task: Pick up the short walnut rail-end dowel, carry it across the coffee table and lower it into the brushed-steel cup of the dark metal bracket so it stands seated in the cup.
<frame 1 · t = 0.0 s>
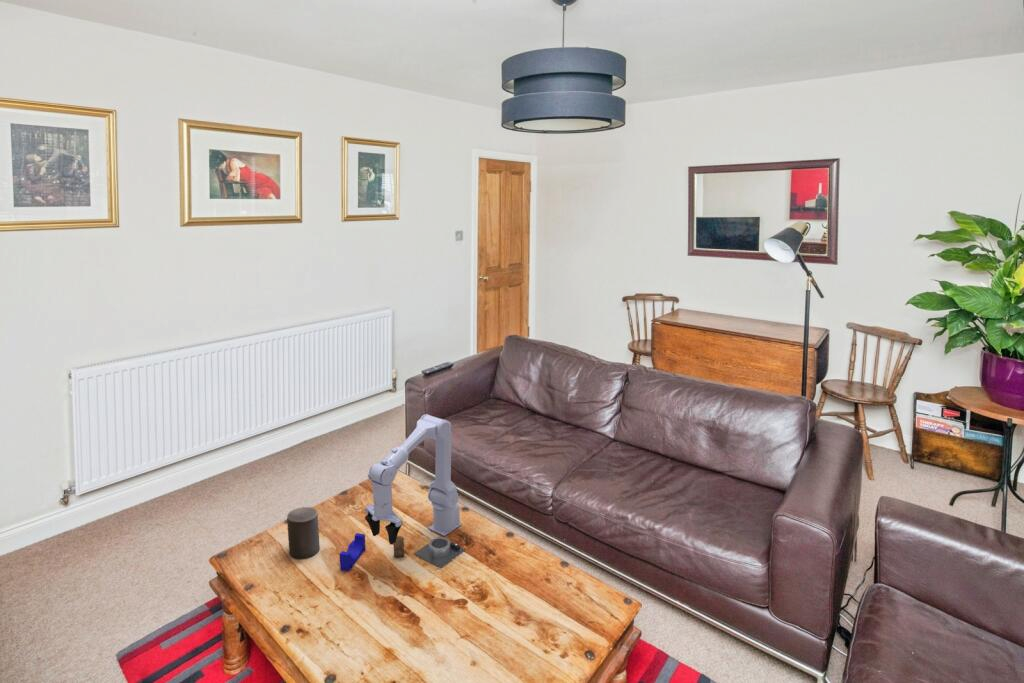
hand: (384, 538, 187), 10 cm above the table, tool pointing down, fingers open, 7 cm apart
pillar candle: (305, 551, 198), on the table
cable clip: (351, 560, 194), on the table
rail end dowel: (399, 555, 196), on the table
cup bracket: (439, 552, 198), on the table
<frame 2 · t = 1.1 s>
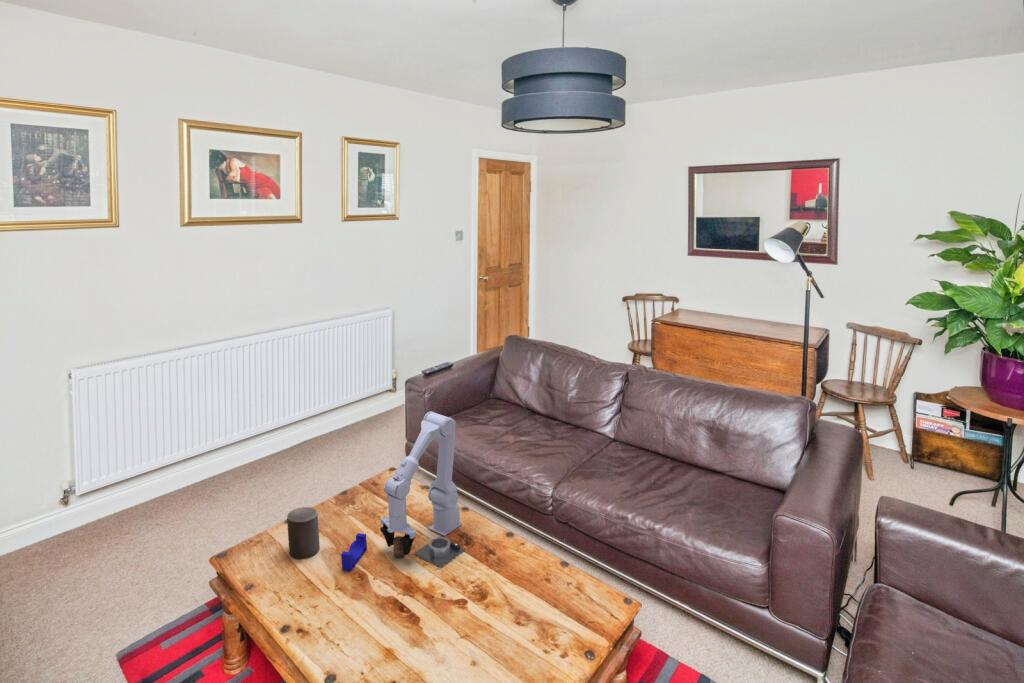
hand: (398, 549, 196), 2 cm above the table, tool pointing down, fingers open, 7 cm apart
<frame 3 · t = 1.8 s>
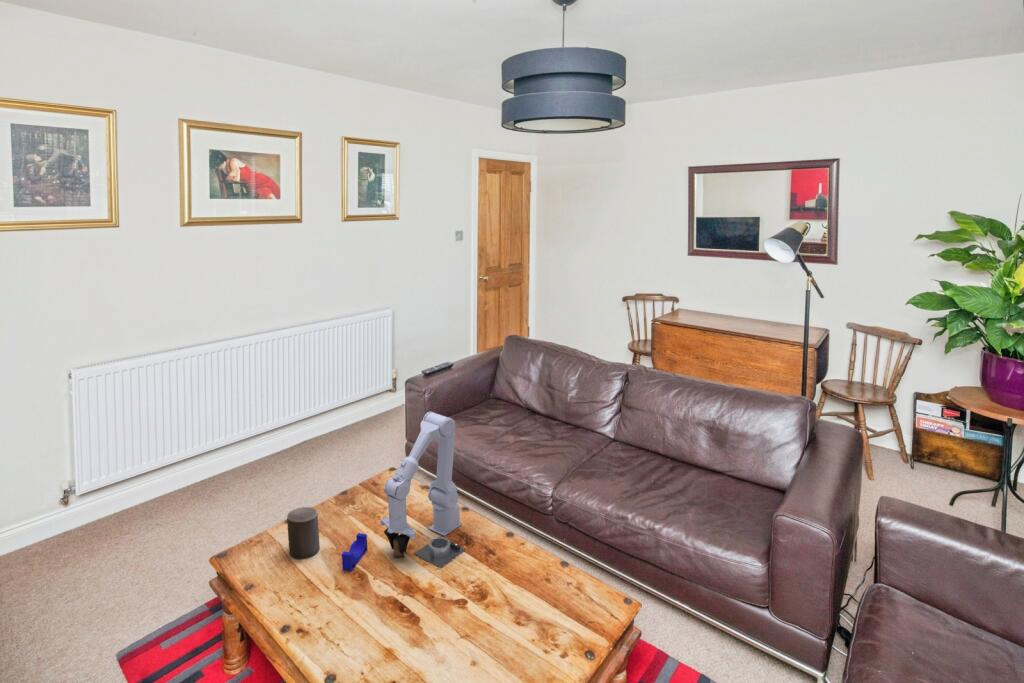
hand: (398, 550, 196), 2 cm above the table, tool pointing down, fingers closed on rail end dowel, 3 cm apart
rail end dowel: (399, 554, 196), on the table, touching gripper
everything else where it was.
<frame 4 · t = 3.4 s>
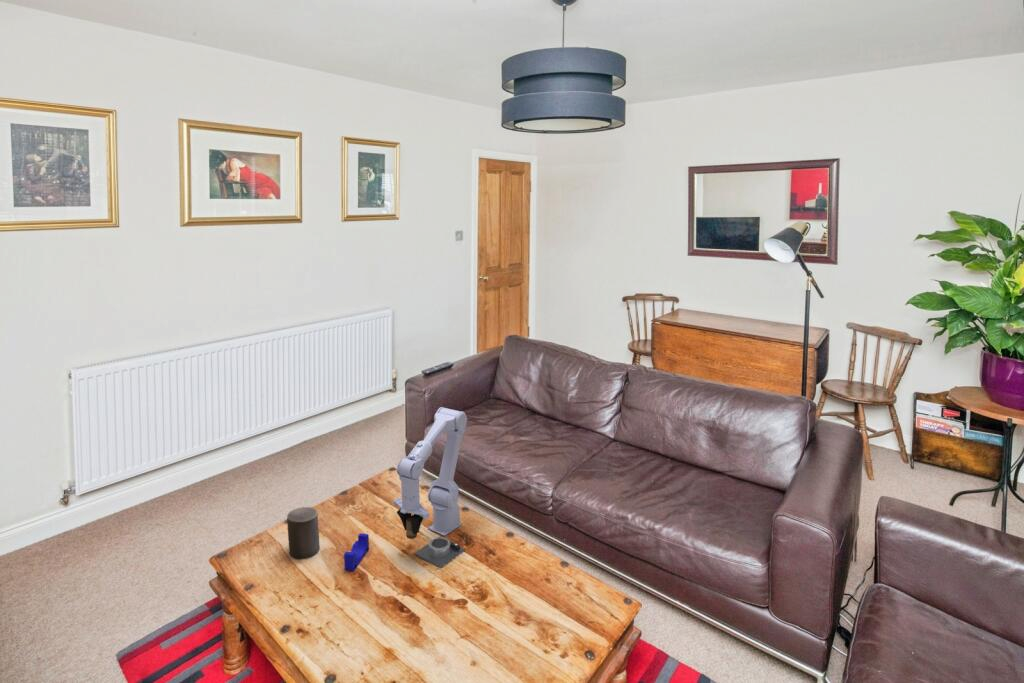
hand: (411, 530, 195), 9 cm above the table, tool pointing down, fingers closed on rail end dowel, 3 cm apart
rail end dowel: (411, 535, 195), point 7 cm above the table, touching gripper
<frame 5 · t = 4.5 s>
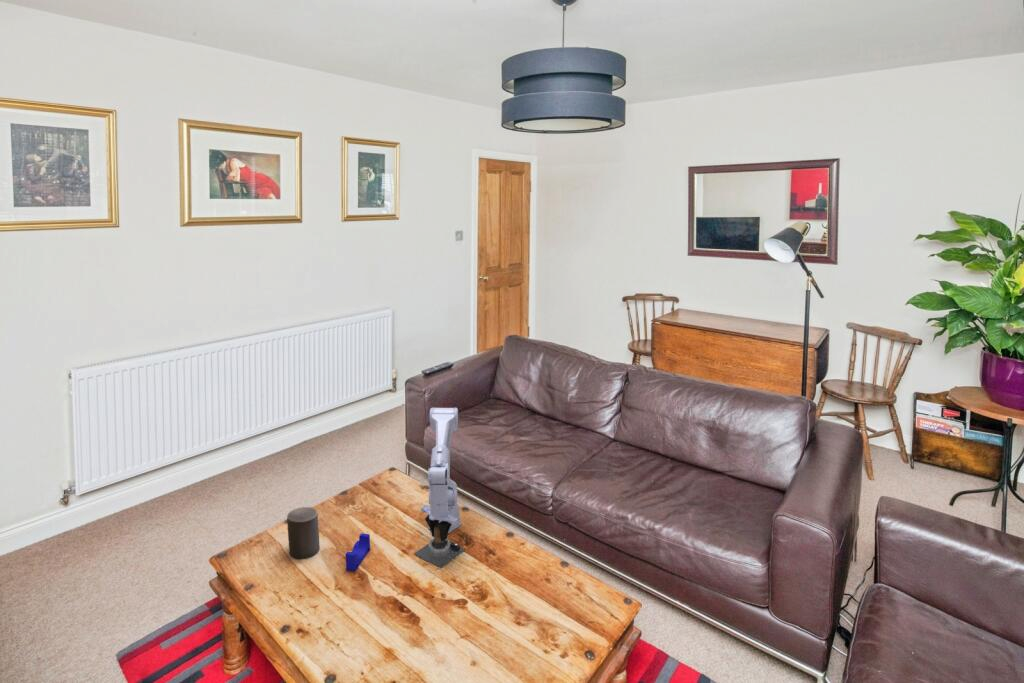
hand: (439, 537, 196), 6 cm above the table, tool pointing down, fingers closed on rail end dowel, 3 cm apart
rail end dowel: (439, 542, 196), point 4 cm above the table, touching gripper
when the fingers open (4 cm above the table, at t = 5.1 s): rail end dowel drops 2 cm, resting on cup bracket.
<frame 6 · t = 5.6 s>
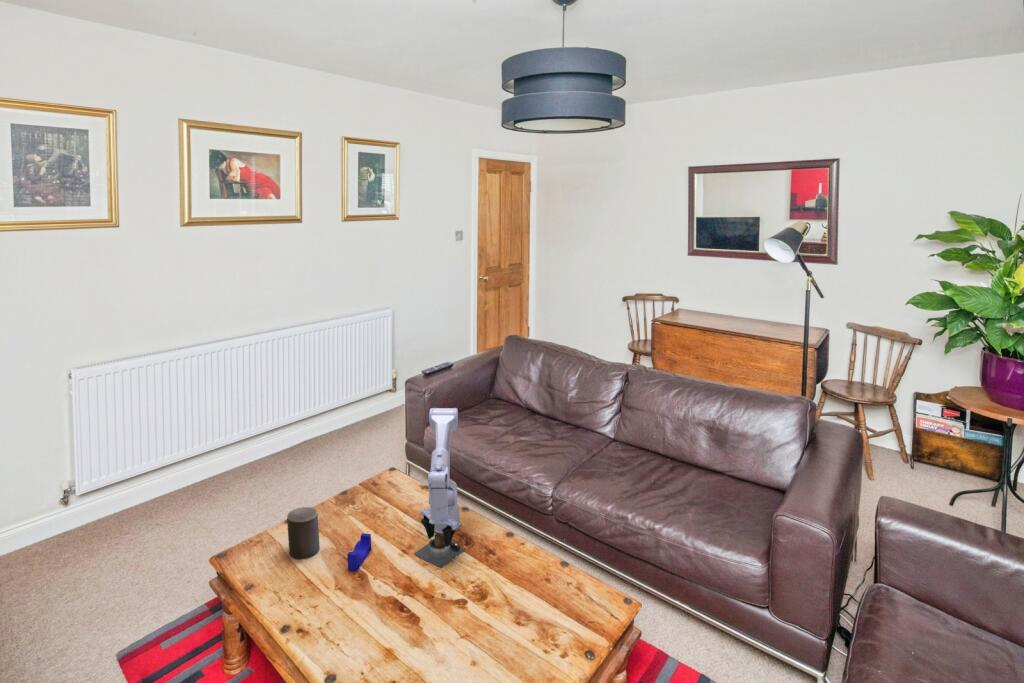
hand: (439, 541, 197), 4 cm above the table, tool pointing down, fingers open, 7 cm apart
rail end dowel: (439, 551, 197), point 1 cm above the table, touching cup bracket
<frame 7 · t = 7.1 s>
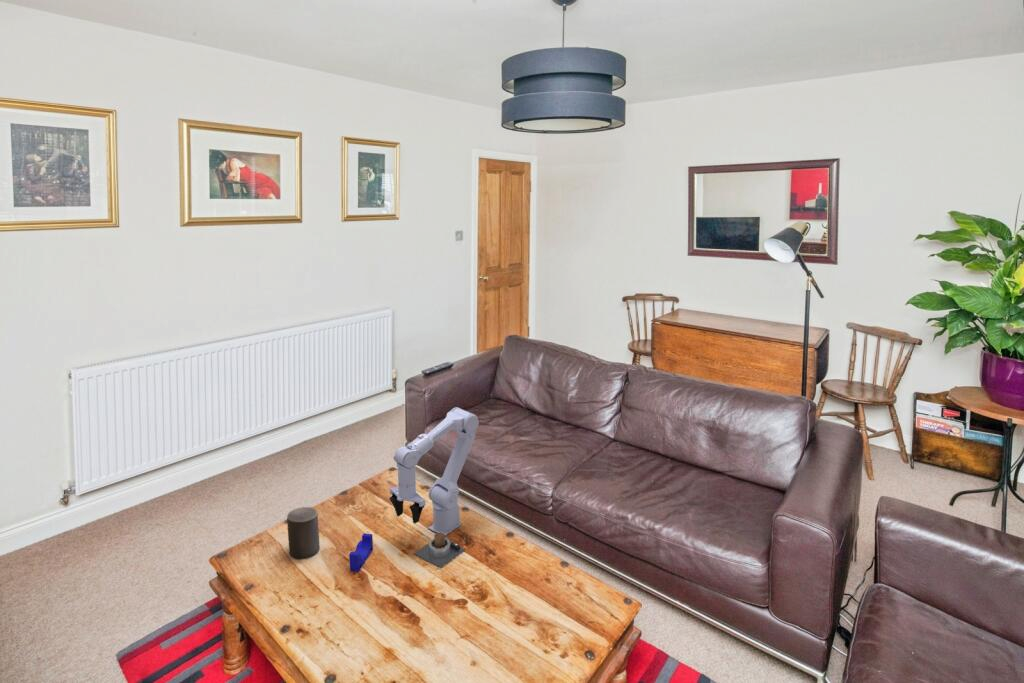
hand: (407, 518, 199), 10 cm above the table, tool pointing down, fingers open, 7 cm apart
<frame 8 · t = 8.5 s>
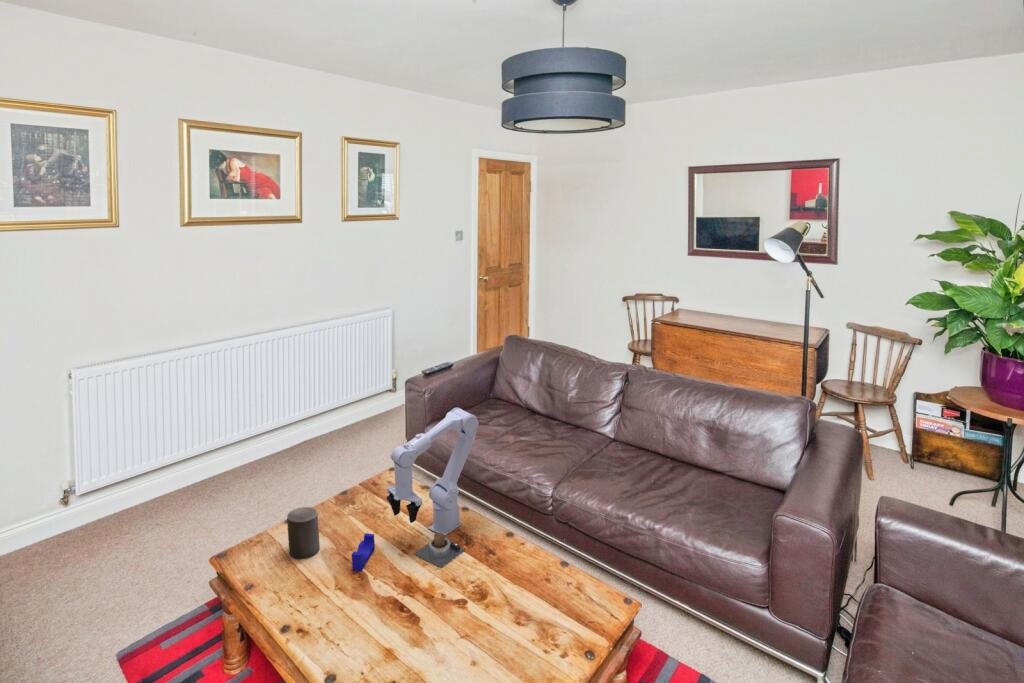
hand: (404, 517, 200), 10 cm above the table, tool pointing down, fingers open, 7 cm apart
at the end: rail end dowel 0.1 cm off-centre on the cup bracket, point 0.6 cm above the cup bracket's base; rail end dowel tilted 1°; the gripper is holding nothing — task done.
